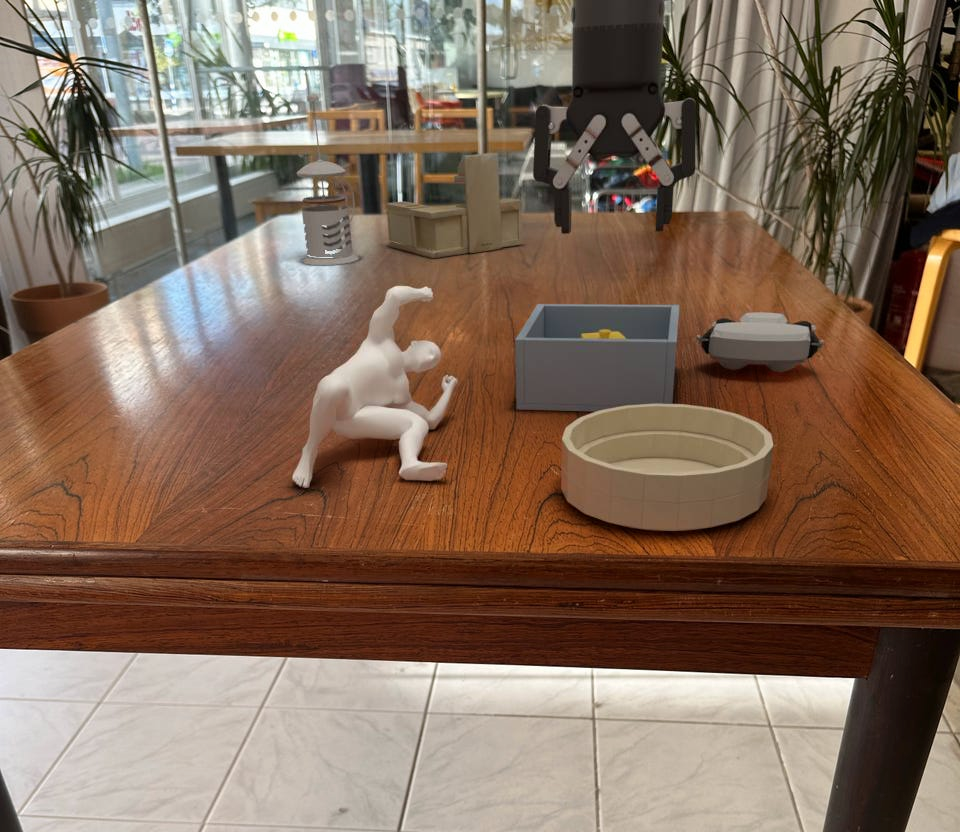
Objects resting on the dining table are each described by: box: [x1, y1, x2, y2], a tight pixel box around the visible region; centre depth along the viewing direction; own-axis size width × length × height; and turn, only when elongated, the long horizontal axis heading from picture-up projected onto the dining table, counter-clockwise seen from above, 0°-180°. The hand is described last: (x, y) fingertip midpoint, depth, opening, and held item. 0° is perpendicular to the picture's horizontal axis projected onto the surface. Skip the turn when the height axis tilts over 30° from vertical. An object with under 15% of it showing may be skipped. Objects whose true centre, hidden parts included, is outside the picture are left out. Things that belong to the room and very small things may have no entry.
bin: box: [514, 303, 680, 413], centre depth 93 cm, size 15×15×7 cm
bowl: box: [560, 403, 774, 532], centre depth 71 cm, size 15×15×4 cm
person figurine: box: [292, 285, 459, 489], centre depth 79 cm, size 13×13×18 cm
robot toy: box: [696, 311, 824, 373], centre depth 100 cm, size 12×4×15 cm
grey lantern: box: [296, 92, 360, 266], centre depth 157 cm, size 10×12×25 cm
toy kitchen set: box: [386, 152, 523, 259], centre depth 166 cm, size 18×17×15 cm
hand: (612, 231), depth 87 cm, fingers open, 8 cm apart
